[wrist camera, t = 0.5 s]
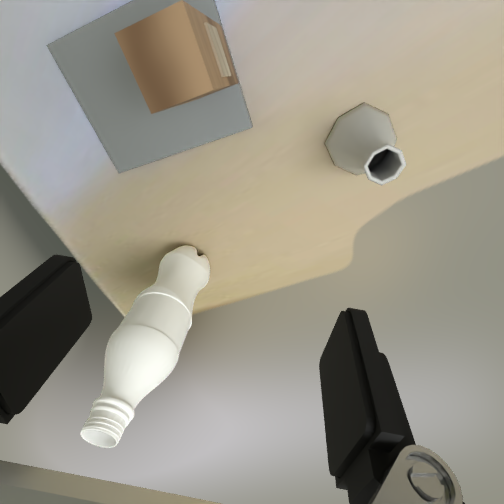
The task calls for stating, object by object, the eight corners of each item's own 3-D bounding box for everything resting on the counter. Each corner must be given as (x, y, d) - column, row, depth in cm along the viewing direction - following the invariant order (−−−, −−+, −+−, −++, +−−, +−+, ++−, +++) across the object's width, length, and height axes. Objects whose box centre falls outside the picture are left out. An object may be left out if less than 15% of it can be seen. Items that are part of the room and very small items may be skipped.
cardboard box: (223, 24, 27) (185, -2, 17) (240, 82, 30) (216, 88, 20) (175, 46, 29) (114, 33, 19) (195, 99, 31) (151, 114, 21)
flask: (354, 184, 35) (375, 221, 27) (313, 143, 33) (321, 168, 24) (408, 137, 32) (451, 162, 23) (365, 88, 30) (395, 95, 21)
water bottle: (223, 260, 43) (160, 443, 22) (196, 286, 46) (119, 467, 25) (183, 231, 41) (72, 401, 20) (158, 260, 44) (41, 433, 23)
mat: (204, -34, 26) (202, -36, 25) (252, 126, 33) (252, 127, 32) (50, 45, 30) (46, 45, 30) (121, 171, 37) (118, 173, 37)
